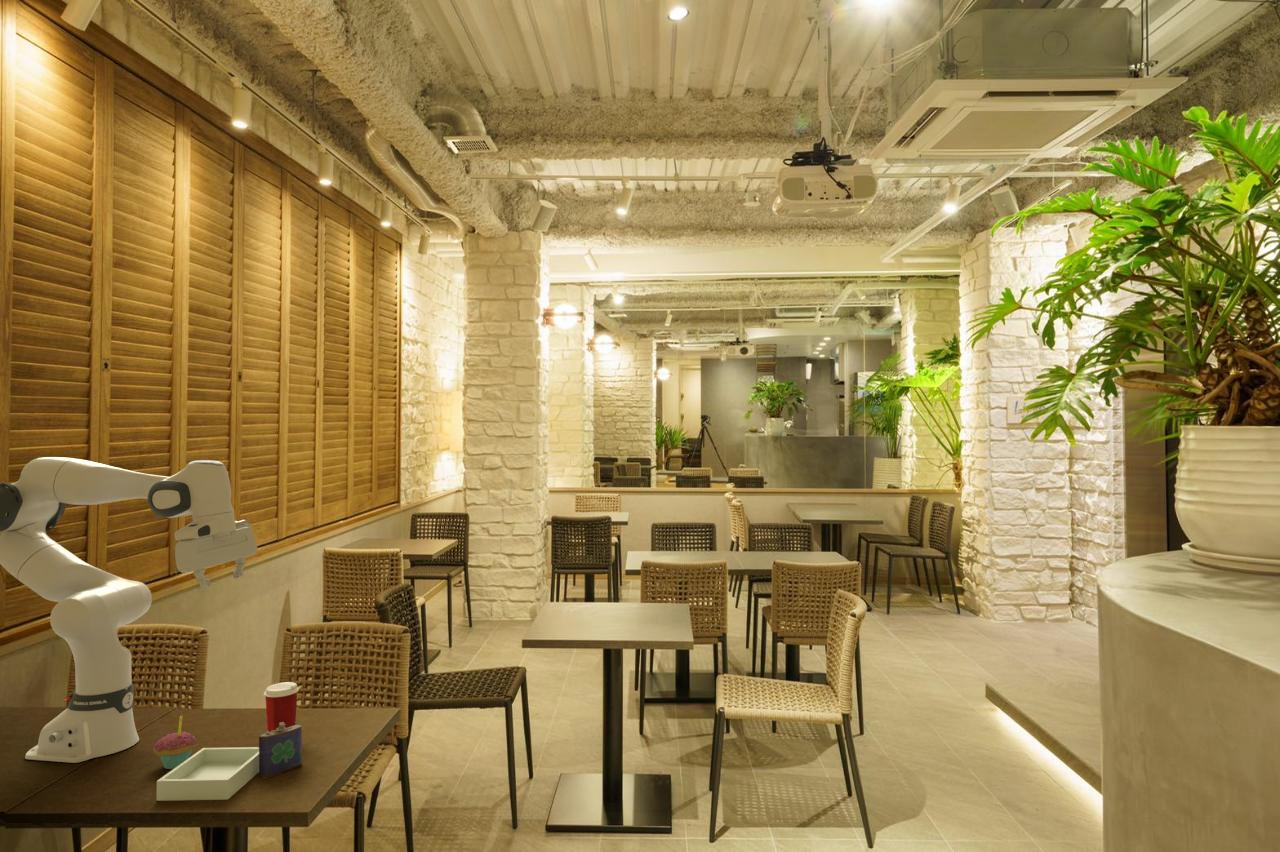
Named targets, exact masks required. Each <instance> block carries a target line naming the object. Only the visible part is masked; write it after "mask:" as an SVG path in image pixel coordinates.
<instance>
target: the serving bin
mask: <svg viewBox="0 0 1280 852" xmlns="http://www.w3.org/2000/svg"><path fill="white" fill-rule="evenodd" d="M258 774H259V746H258V747H257V746H256V747H255V746H254V747H253V746H251V747H250V746H248V747H247V746H246V747H203V748H201V749H200V750H198V751H197V752H196V753H194V754H192V756H191V755H190V758H188V759H187V760H186V761H184V762H183V763H181V764H180V765H179V766H177V767H176V768H174V769H170V771H168V772H167V773H166V774H164V775H163V776H162V777H160V778H159V779H157V781H156V801H159V802H160V801H161V802H163V801H165V802H166V801H168V802H169V801H213V800H214V801H215V800H216V801H218V800H220V801H221V800H222V801H223V800H224V801H225V800H229V799H230V798H232V797H233V796H234V795H235V794H236V793H237V792H238V791H239V790H240V789H242V787H245V785H247V783H248V782H249V781H251V780H252V779H253V778H254V777H255V776H256V775H258Z"/></svg>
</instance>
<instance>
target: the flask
mask: <svg viewBox="0 0 1280 852" xmlns="http://www.w3.org/2000/svg"><path fill="white" fill-rule="evenodd" d="M285 725H286V724H284V722H280V724H279V727H278V728H277V729H276V730H272V731H273V732H268V730H266V732H264V733H261V734H260V736H259V735H258V747H259V773H258V776H259V778H261V779H267V778H271V777H274V776H277V775H281V774H283V773H287V772H290V771H292V770H294V769H297V768H299V767H301V766H302V764H303V735H302V732H303V728H302V727H303V726H302V725H301V724H295V725H294V726H291V727H288V728H286V727H285Z"/></svg>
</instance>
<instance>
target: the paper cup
mask: <svg viewBox="0 0 1280 852" xmlns="http://www.w3.org/2000/svg"><path fill="white" fill-rule="evenodd" d="M299 690H300V689H299V687H298V684H297V683H296V682H291V681H285V682H278V683H273V684H271V685H268V686H267V687H266V688H265V691H264V692H263V696H264V697H265V710H266V726H267V731H268V732H273V731H272V730H276V729H277V728H278V727H279V724H280V722H284V724H286V725H285V727H286V728H288V727H291V726H294V725H296V723H297V720H296V719H297V706H298V703H297V701H298V692H299Z"/></svg>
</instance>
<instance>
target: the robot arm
mask: <svg viewBox="0 0 1280 852" xmlns="http://www.w3.org/2000/svg"><path fill="white" fill-rule="evenodd" d="M132 499H133V500H135V499H146V500H147V503H148V506H149V509H150V510H151V512H152V513H153V514H154V515H156V516H157V517H160V518H162V519H163V518H165V519H174V518H179V517H185V516H189V515H191V517H192V521H191V522H189V523H187V525H184V526H183V527H181V528H179V529H177V530H176V531H174V537H173V538H174V539H175V541H177V542H176V544H175V547H174V553H175V554H174V556H175V557H174V558H175V564H176V569H177V570H178V571H179V572H180V573H192V572H193V576H194V577H195V578H196V580H198V581H199V587H200V588H201V589H206V588H209V587H211V585H212V583H211V578H208V577H206V575H205V573H206V569H207V568H210V567H211V568H212V567H214V566H218V565H222V564H225V563H230V562H233V561H234V564H236V567H235V570H233V571H232V575H233V578H234V579H240V578H243V577H244V569H245V566H246V563H247V558H248V557H252V556H256V554H257V553H258V550H259V549H258V544H257V539H256V536H255V533H254V531H253V526H252V524H251V523H250V522H249V521H247V520H246V519H242V520H239V521H236V517H235V516H236V515H235V509H234V507H233V505H232V501H231V499H232V487H231V481H230V476H229V472H228V470H227V468H226V466H225V464H224V463H222V462H221V461H218V460H212V459H211V460H210V459H205V460H204V459H199V460H193V461H190V462H188V464H186V466H185V467H184V468H183V469H181V470H179V471H178V472H176V473H175V474H172V475H170V476H169V475H161V474H152V473H145V472H138V471H135V470H129V469H124V468H121V467H116V466H112V465H109V464H104V463H99V462H95V461H92V460H86V459H81V458H73V457H63V456H62V457H60V456H46V457H37V458H34V459H32V460H30V461H29V462H27V464H25V465H24V467H23V469H22V470H21V472H20V476H19V479H18V480H17V481H15V482H13V483H9V482H7V481H3V482H1V483H0V565H1V566H2V568H3V569H5V571H6V572H8V574H10V575H11V576H12V577H14V578H15V579H16V580H18V581H19V582H20V583H22V584H23V585H25V586H26V587H28V588H29V589H30V590H32V591H33V592H34V593H36V594H37V595H39V596H40V597H41V598H43V599H45V600H47V601H50V602H56V604H55V606H54V607H53V608H52V609H51V612H50V617H49V622H50V626H51V629H52V630H53V632H54V633H55V635H57V636H58V637H60V638H62V639H63V640H65V641H66V642H67V644H68V646H69V648H70V651H71V652H72V656H73V660H74V666H75V667H74V668H75V671H74V672H75V691H74V692H72V693H70V694H68V695H67V696H65V697H63V699H64V701H63V703H66V702H68V701H69V703H68V706H67V708H66V709H65V710H63V711H62V712H61V713H60V714H58V715H57V716H55V717H54V718H53V719H52V720H50V721H49V722H48V723H46V724H45V725H44V727H42V729H41V731H40V733H39V737H38V742H37V744H36V745H35V746H33V747H32V748H30V749H29V750H28V751H27V752H26V753H25V759H26V760H33V761H45V762H58V763H61V762H62V763H72V764H76V763H81V762H84V761H88V760H90V759H94V758H99V757H104V756H107V755H111V754H116V753H119V752H121V751H124V750H126V749H129V748H130V747H132V746H135V744H137V743H138V742H139V741H140V737H139V735H138V731H137V729H136V728H137V727H136V724H135V720H134V719H135V718H134V712H133V705H134V683H133V682H132V653H131V651H130V649H128V648H127V647H125V646H123V645H122V643H121V642H120V640H119V635H118V628H120V627H122V626H126V625H128V624H131V623H133V622H135V621H136V620H138V619H139V618H141V617H142V616H144V615H145V614H146V613H147V612H148V611H149V609H150V608H151V606H152V602H153V596H152V592H151V589H150V588H149V587H148V585H146V583H143V582H141V581H138V580H130V579H127V578H124V577H120V576H118V575H115V574H113V573H111V572H107V571H105V570H103V569H101V568H98V567H95V565H91V564H89V563H88V562H86V561H84V560H82V559H81V558H79V557H78V556H77V555H75V554H74V553H72V552H71V551H69V550H68V549H66V548H65V547H63V546H62V545H61V544H60V543H58V542H57V541H55V540H53V539H52V538H51V537H50V536H49V535H48V533H47V532H48V531H52V530H53V529H54V528H55V527H56V526H57V524H58V521H59V520H60V518H61V517H62V516H63V514H64V513H65V510H66V507H67V504H68V505H76V506H93V505H102V504H107V503H114V502H119V501H125V500H132Z"/></svg>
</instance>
